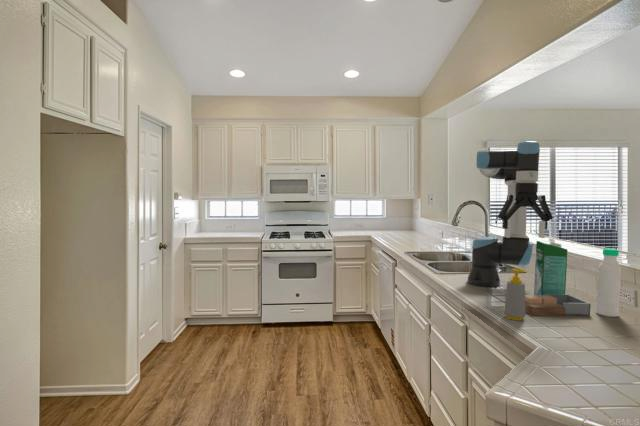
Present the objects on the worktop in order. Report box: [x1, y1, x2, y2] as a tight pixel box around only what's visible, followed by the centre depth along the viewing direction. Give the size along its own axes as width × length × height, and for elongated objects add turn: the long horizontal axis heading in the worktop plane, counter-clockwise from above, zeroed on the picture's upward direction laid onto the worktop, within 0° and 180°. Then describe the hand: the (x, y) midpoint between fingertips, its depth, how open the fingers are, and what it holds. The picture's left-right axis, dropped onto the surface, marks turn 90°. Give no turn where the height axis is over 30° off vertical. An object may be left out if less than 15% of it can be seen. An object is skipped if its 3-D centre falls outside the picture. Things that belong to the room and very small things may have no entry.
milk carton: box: [533, 240, 568, 296], centre depth 165 cm, size 9×9×25 cm
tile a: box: [525, 294, 542, 304], centre depth 152 cm, size 5×5×2 cm
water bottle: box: [595, 248, 622, 318], centre depth 146 cm, size 7×7×25 cm
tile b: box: [537, 295, 557, 304], centre depth 152 cm, size 5×5×2 cm
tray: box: [544, 293, 592, 316], centre depth 152 cm, size 13×10×4 cm
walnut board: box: [525, 302, 566, 317], centre depth 152 cm, size 15×12×3 cm
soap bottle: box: [503, 268, 527, 321], centre depth 141 cm, size 7×7×18 cm
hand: (524, 237), depth 150 cm, fingers open, 13 cm apart
